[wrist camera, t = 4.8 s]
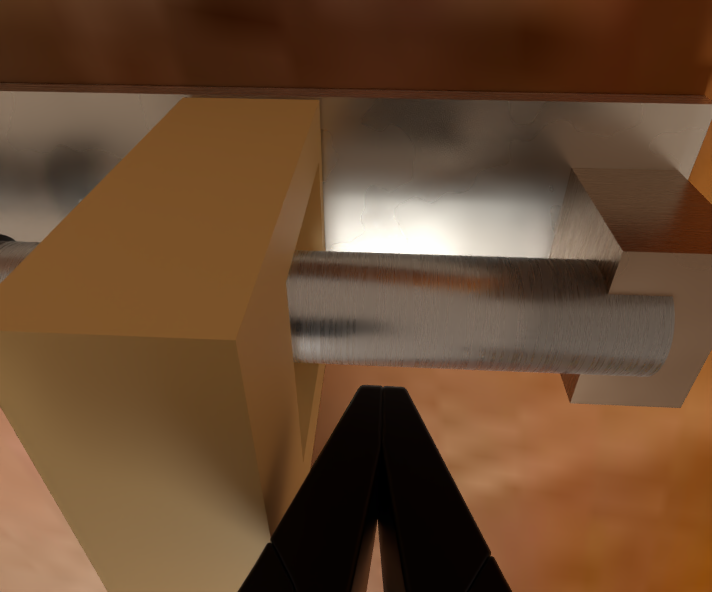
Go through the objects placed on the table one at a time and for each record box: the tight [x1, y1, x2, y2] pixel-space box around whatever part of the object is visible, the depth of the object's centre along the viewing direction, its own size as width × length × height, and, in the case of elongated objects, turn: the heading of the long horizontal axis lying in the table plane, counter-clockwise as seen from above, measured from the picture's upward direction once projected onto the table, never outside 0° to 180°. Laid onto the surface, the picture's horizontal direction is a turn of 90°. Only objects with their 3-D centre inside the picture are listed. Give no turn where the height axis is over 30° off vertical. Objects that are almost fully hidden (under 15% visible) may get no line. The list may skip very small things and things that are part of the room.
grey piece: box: [0, 83, 712, 408], centre depth 13 cm, size 24×7×5 cm, turn 90°
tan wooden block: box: [0, 97, 326, 592], centre depth 11 cm, size 3×7×8 cm, turn 0°
